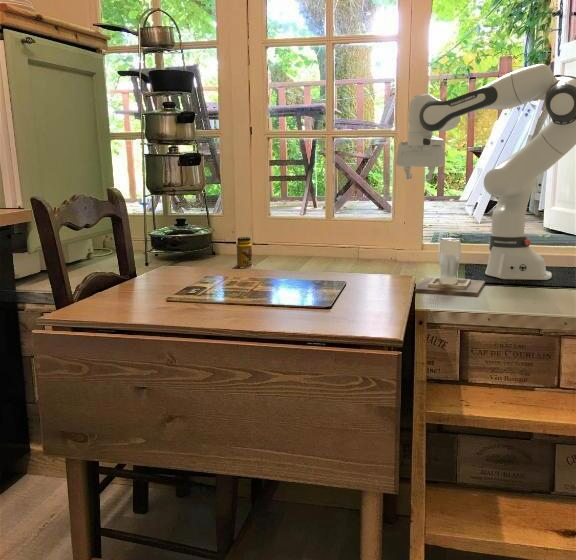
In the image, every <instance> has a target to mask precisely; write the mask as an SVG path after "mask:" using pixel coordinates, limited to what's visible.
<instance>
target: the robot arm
mask: <svg viewBox="0 0 576 560" xmlns="http://www.w3.org/2000/svg"><path fill="white" fill-rule="evenodd" d="M533 101H544V106H545V109H546V112H547V114H548V115H549V117H550V118H551V120H550V122H549V123H548V125H546V126H545V127H544V128H542V130H540V131H539V133H538V134H536V135H535V136H534V137H533V138H532V139H531V140H530V141H529V142H527V144H525V145H524V146H522V148H521V149H519V150H517V151H516V152H514V153H513V154H511V156H509V157H507V159H505V160H503V161H502V162H501V163H500V164H498V165H497V166H495V167H494V168H492V169H490V170H489V171H487V172H486V173H485V176H484V177H483V187H484V190H485V192H487V194H489V195H490V196H492V197H496V198H498V199H497V203H496V207H495V208H494V210H493V212H492V215H491V216H492V217H491V233H490V234H491V235H490V236H489V246H488V247H489V248H488V249H489V257H488V261H487V267H486V269H485V272H484V274H485V275H487V276H488V277H489V276H490V277H495V278H499V279H501V280H533V281H535V280H537V281H539V280H540V281H547V280H550V279H551V278H552V275H553V274H552V272H551V271H548V270H547V268H546V262H545V259H544V258H543V256H541V255H540V254H538V252H536V251H535V250H534V249H533V248H531V247H530V244H531V238H529V237H527V236H526V235H525V226H526V214H527V208H528V205H529V200H530V197H531V194H532V193H531V192H532V191H533V189H534V187H535V185H536V183H537V177H538V176H539V175H541V174H543V173H544V172H547V171H548V170H549V169H550V168H552V167H553V165H555V164H556V163H558V161H559V160H560V159H562V158H563V157H564V156H565V155H566V154H568V153H569V152H570V151H571V150H572V149H573V148H574V147H575V146H576V76H573V75H564V74H563V75H562V74H554V73H553V70H552V69H551V68H550V67H549V66H548V65H547V64H544V63H539V64H533V65H530V66H526V67H523V68H520V69H517V70H514V71H512V72H509V73H506V74H504V75H503V76H501V77H499V78H496V79H495V80H492V81H490V83H488V84H487V83H486V84H485V85H483V86H481V87H479V88H477V89H475V90H472V91H470V92H467V93H464V94H461V95H458V96H456V97H453V98H450V99H447V100H441V99H438V98H436V97H434V95H432V94H430V93H424V94H423V93H422V94H418V95H415V96H413V97H412V98H411V100H410V101H409V106H408V107H409V108H408V116H407V117H408V118H407V120H408V126H409V127H408V130H407V141H405V140H404V141H401V142H400V143H399V144H398V146H397V154H396V159H395V164H396V166H397V167H401V168H403V171H404V174H405V179H406V180H413V174H412V173H411V171H410V170H411V168H415V167H416V168H419V167H420V168H427V171H428V173H427V174H426V175H425V180H426V181H431V180H433V175H434V172H435V171H436V168H442V167H443V166H444V165H445V149H444V145H445V140H444V139H443V138H440V137H437V136H435V135H434V132H448V131H451V130H453V129H454V130H455V128H456V127H457V126H458V125H459V124H460V121H461V117H462V116H464V115H468V114H470V113H473V112H476V111H477V112H478V111H480V110H481V111H482V110H498V111H499V110H503V111H504V110H509V109H513V108H517V107H520V106H522V105H525V104H527V103H529V102H533Z"/></svg>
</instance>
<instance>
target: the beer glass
mask: <svg viewBox="0 0 576 560" xmlns="http://www.w3.org/2000/svg"><path fill="white" fill-rule="evenodd" d="M461 242H462V241H461V238H456V237H455V238H452V237H447V238H446V237H445V238H439V242H438V243H439V244H438V262H439V268H440V282H439V284H448V285H458V279H459V278H458V271H459V266H460V262H461V255H462V245H461Z"/></svg>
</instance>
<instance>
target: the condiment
mask: <svg viewBox="0 0 576 560" xmlns="http://www.w3.org/2000/svg"><path fill="white" fill-rule="evenodd" d="M236 242H237V244H236V262H237V263H236V264H233V265H232V267H244V268H243V269H253V268H254V266H255V264H253V249H252V248H253V247H252V243H251V242H252V241H251V237H250V236H249V237H248V236H240V237H237V241H236ZM250 267H251V268H250Z"/></svg>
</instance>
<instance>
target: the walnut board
mask: <svg viewBox="0 0 576 560" xmlns="http://www.w3.org/2000/svg"><path fill="white" fill-rule="evenodd" d="M440 277H441V276H440ZM440 277H439V276H438V277H424V278H423V279H422V280H421V281H419V282H418V283H417V284H416V285H415V286H416V292H415V293H420V294H431V295H432V294H433V295H436V294H437V295H450V296H451V295H452V296H465V297H478V296H479V295H480V293H481V291H482V290H483V288H484V286H485V284H486V281H485V280H481V279H479V280H477V279H476V280H475V279H469V278H457V279H458V285H448V284H439V282H440Z"/></svg>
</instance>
